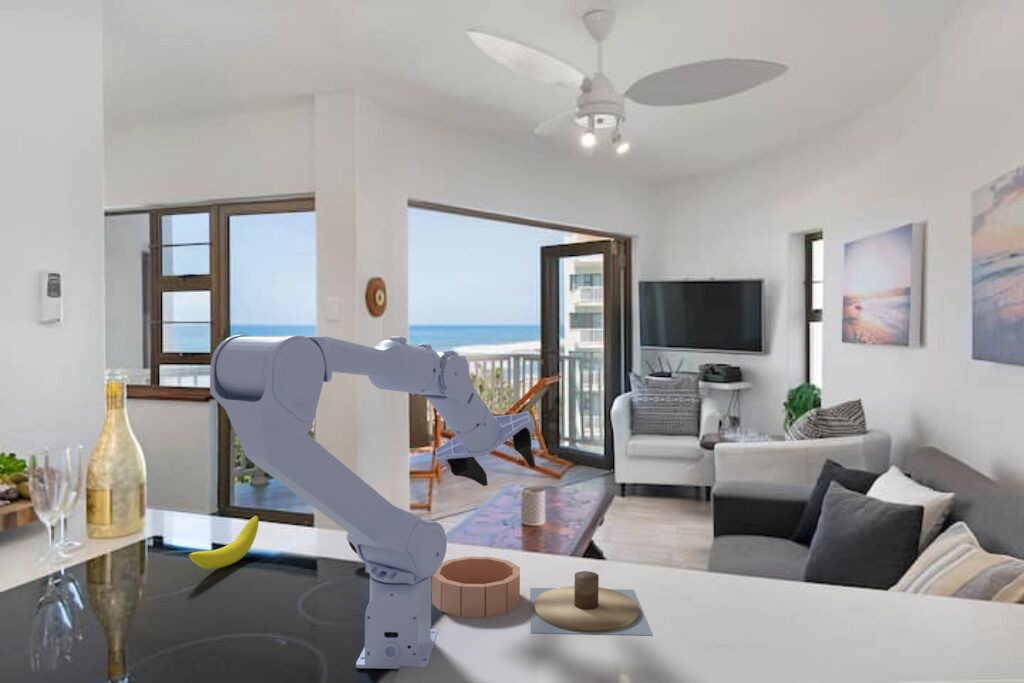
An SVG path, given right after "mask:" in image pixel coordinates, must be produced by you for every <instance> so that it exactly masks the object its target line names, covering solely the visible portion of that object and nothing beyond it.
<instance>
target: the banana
mask: <svg viewBox="0 0 1024 683" xmlns="http://www.w3.org/2000/svg"><path fill="white" fill-rule="evenodd" d="M260 514H261V512H255V514H254V516H253V517H252V518H250V519H249V520H248V522H247V523H246V524H245V526H244V527H243V528H242V530H241V531H240V533H239V534H238V535H237V537H236V538H234V540H233V541H231V542H230V543H228V544H227V545H225V546H222V547H220V548H217V549H213V550H205V551H204V550H203V551H194V552H191V553H189V554H188V557H189V559H190V560H191V561H192V562H193V563H194V564H195V565H197V566H198V567H200V568H202V569H206V570H212V569H221V568H225V567H227V566H230V565H232V564H234V563H235V564H236V563H237V562H238V561H240V560H241V559H243V558H244V557H245V555H246V554H248V552H249V550H250V549H251V547H252V546H253V545H254V541H255V539H256V536H257V533H258V530H259V516H260Z"/></svg>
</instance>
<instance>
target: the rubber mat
mask: <svg viewBox="0 0 1024 683" xmlns="http://www.w3.org/2000/svg"><path fill="white" fill-rule="evenodd" d="M556 588H557V587H529V597H530V598H529V600H530V602H529V603H530V605H529V606H530V610H529V611H530V634H539V635H541V634H545V635H548V634H552V635H556V634H557V635H592V636H593V635H595V636H596V635H599V636H603V635H604V636H605V635H606V636H643V637H644V636H647V637H650V636H651V637H652V636H653V632H652V629H651V628H650V625H649V623H648V620H647V617H646V616H645V613H644V611H643V608H642V606H641V605H640V601H639V599H638V597H637V594H636V592H635V590H634V589H624V588H623V589H621V588H620V589H619V588H615V589H614V588H611V589H610V588H609V589H610V590H614V591H617V592H620V593H623V594H625V595H627V596H629V597H630V598H632V599H633V600H635V601H636V603H637V604H638V606H639V617H638V619H637V620H636V621H635V622H634V623H633V624H631V625H629V626H627V627H625V628H621V629H618V630H613V631H606V632H581V631H573V630H568V629H563V628H560V627H556V626H554V625H551V624H549V623H547V622H545V621H543V620H542V619H541V618H539V617H538V616H537V614H536V613H535V610H534V602H535V600H536V598H537V597H538V596H539V595H541V594H542V593H544V592H546V591H549V590H552V589H556Z"/></svg>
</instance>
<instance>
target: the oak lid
mask: <svg viewBox="0 0 1024 683" xmlns="http://www.w3.org/2000/svg"><path fill="white" fill-rule="evenodd" d="M599 577H600V576H599V574H598V573H597V572H595V571H594V572H593V571H589V570H588V571H587V570H584V571H577V572H575V573H574V585H569V586H563V587H555V588H556V589H552V590H549V591H546V592H544V593H542V594H541V595H539V596H538V597H537V598H536V600H535V602H534V610H535V613H536V614H537V616H538V617H539V618H541V619H542V620H543V621H545V622H547V623H549V624H551V625H554V626H556V627H560V628H563V629H568V630H573V631H581V632H606V631H613V630H618V629H621V628H625V627H627V626H629V625H631V624H633V623H634V622H635V621H636V620H637V619H638V617H639V606H638V604H637V603H636V601H635V600H633V599H632V598H630V597H629V596H627V595H625V594H623V593H620V592H617V591H614V590H610V588H606V587H605V588H604V587H599V586H600V585H599V583H600V582H599Z"/></svg>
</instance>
